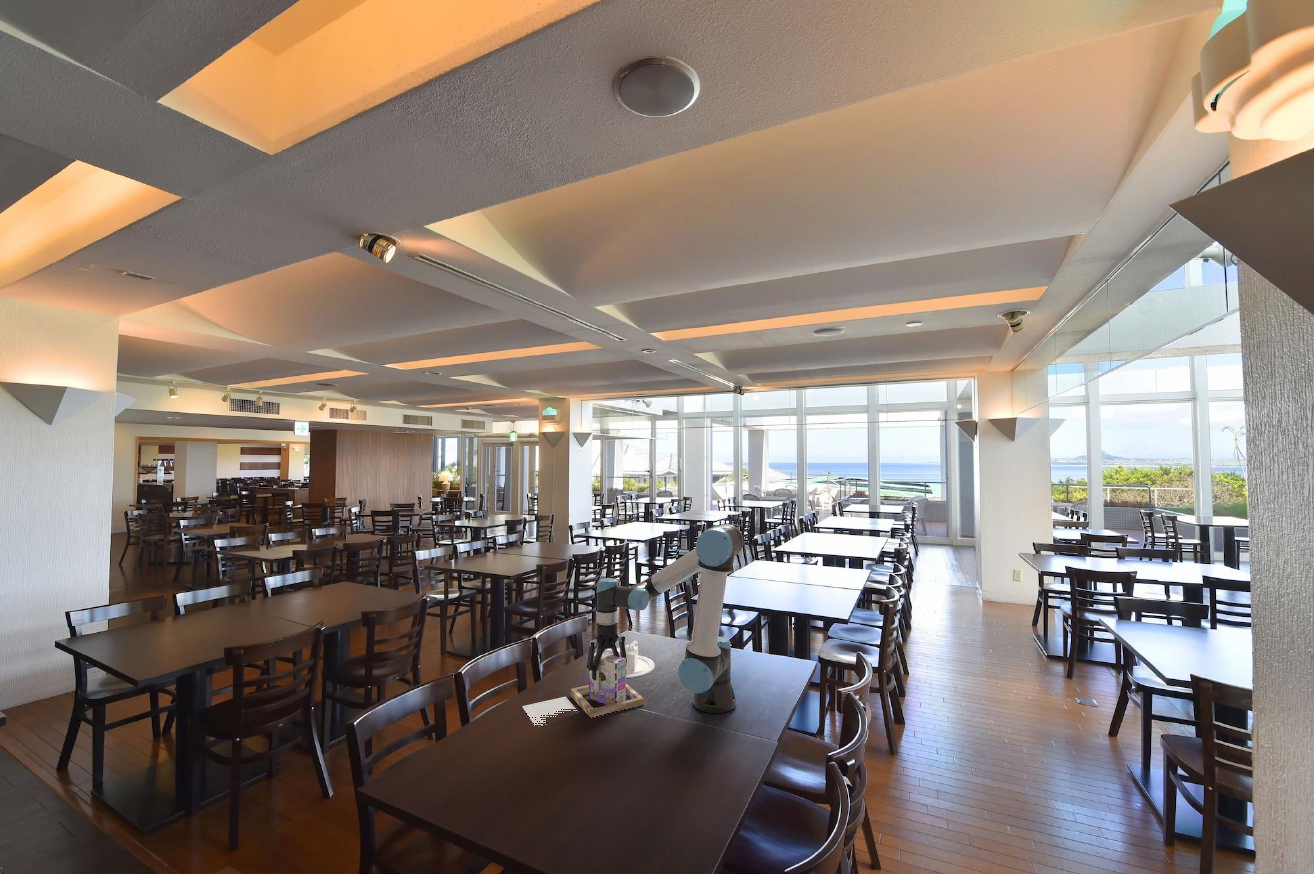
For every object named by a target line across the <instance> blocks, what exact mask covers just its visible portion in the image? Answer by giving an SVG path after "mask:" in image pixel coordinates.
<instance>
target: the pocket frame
mask: <svg viewBox="0 0 1314 874" xmlns="http://www.w3.org/2000/svg"><path fill="white" fill-rule="evenodd" d="M588 695H589V684H587V685H582V686H577V687H574V688H573V687H572V688H570V698H572V699H573V700H574V701H575V702H576V704H577V705H578V706H579V707H580V708H581V709H582V710H583V712H585V713H586V714H587V716H588V717H589V718H590V717H591V718H590V719H593V718H592V717H594V718H597V717H596V716H598V717H600V716H599V715H602V716H605V715H604V714H606V713H610V714H613V713H612V712H614V713H616V712H615V711H618V712H621V710H622V711H625V710H624V709H626V710H629V708H630V709H633V708H632V707H634V708H637V707H641V705H642V706H644V705H645V699H644V697H643V696H642V695H640V694H639V693H638V692H637V691H636V690H635V689H633V688H632V687H631V686H630V685H629V684H628V683H626V697H627V696H628V697H629V698H630V699H626V701H623V702H618V703H614V704H610V705H602V706H599V707H593V706H592V705H591V704H590V703H589V702H588V701H587V700H586V698H585V697H584V696H588ZM606 715H607V714H606Z"/></svg>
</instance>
